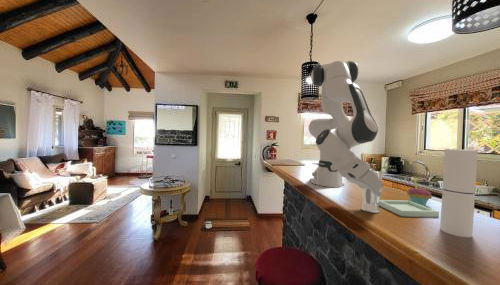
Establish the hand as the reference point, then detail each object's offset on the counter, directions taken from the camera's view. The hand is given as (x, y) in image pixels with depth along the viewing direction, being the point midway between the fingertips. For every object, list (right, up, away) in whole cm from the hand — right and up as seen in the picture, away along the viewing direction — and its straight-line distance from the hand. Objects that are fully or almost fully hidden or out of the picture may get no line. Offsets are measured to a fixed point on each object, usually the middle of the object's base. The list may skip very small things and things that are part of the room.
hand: (372, 192), depth 85 cm
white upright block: (-1, -7, 0) cm, 7 cm away
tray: (+14, -7, +2) cm, 16 cm away
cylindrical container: (+15, -8, -18) cm, 25 cm away
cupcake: (+26, -8, +12) cm, 30 cm away
